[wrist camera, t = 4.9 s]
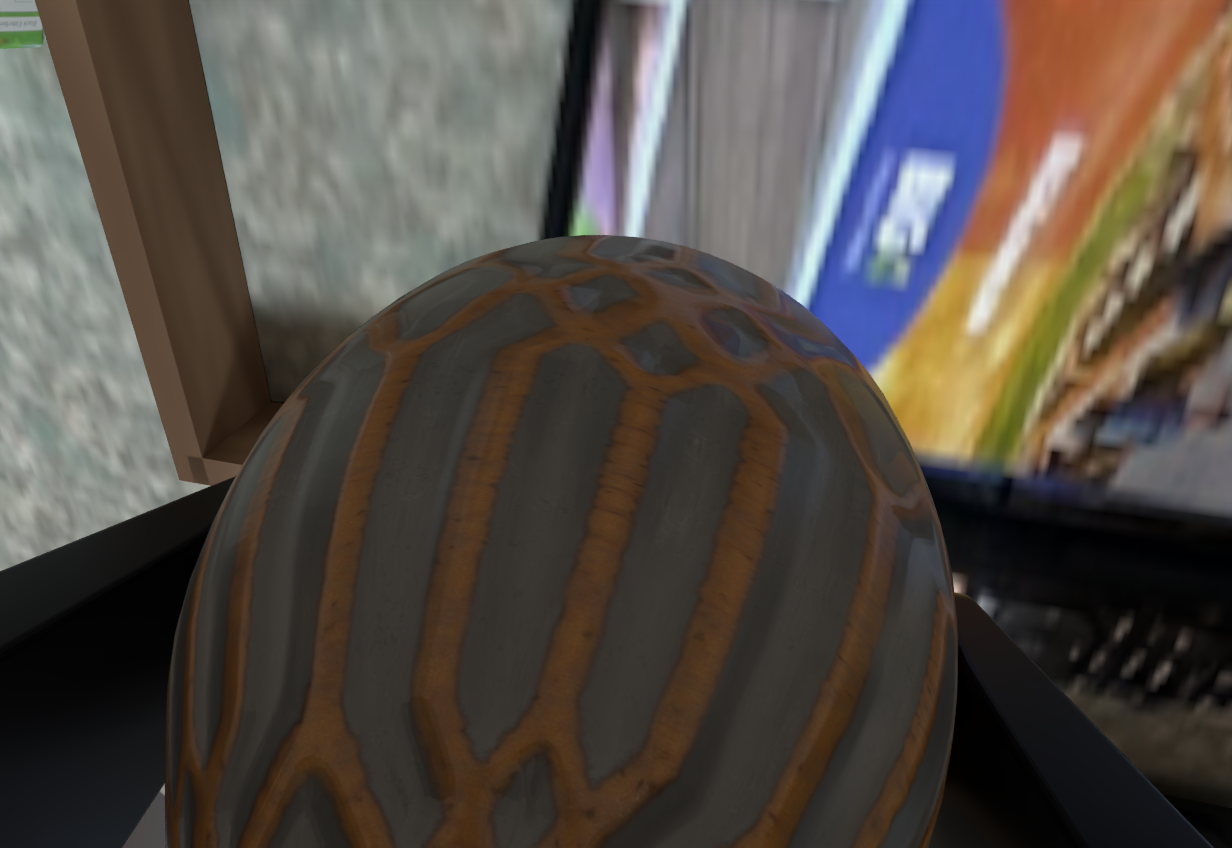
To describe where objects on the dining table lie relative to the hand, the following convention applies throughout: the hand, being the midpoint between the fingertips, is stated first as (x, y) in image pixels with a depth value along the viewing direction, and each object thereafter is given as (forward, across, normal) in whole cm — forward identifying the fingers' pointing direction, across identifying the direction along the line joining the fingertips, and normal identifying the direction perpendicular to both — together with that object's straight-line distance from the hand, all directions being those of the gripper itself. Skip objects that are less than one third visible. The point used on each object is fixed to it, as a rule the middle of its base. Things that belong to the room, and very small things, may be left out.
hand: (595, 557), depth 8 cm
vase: (+3, 0, 0) cm, 3 cm away
